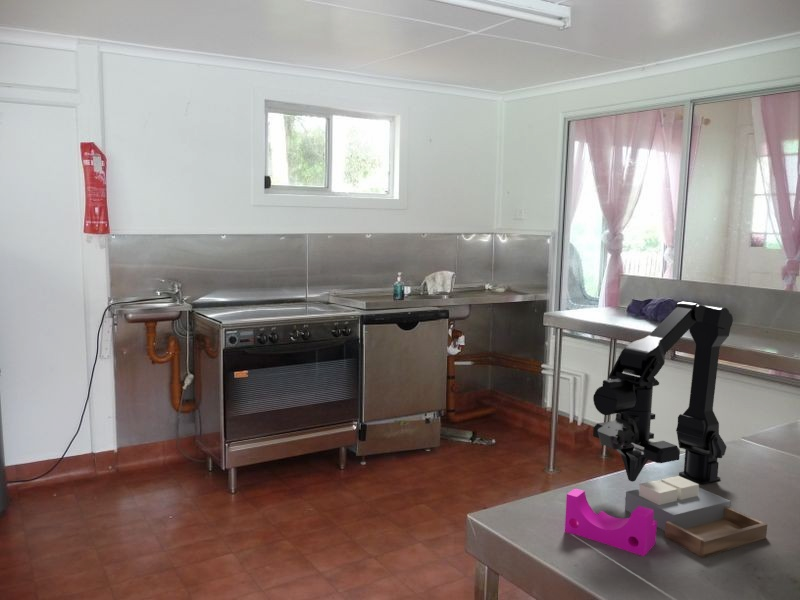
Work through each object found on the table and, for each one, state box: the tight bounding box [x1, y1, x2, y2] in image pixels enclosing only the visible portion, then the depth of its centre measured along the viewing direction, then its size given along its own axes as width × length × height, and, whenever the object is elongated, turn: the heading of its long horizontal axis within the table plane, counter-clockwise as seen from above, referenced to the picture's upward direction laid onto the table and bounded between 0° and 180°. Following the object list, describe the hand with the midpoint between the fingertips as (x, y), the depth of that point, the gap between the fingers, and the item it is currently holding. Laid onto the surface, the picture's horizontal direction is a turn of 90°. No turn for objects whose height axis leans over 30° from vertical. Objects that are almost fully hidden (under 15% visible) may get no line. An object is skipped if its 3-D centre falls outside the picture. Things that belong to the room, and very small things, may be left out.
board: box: [624, 486, 732, 532], centre depth 137 cm, size 12×16×4 cm
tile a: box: [638, 479, 678, 505], centre depth 135 cm, size 5×5×2 cm
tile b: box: [660, 475, 700, 500], centre depth 138 cm, size 5×5×2 cm
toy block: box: [564, 488, 658, 557], centre depth 127 cm, size 15×6×8 cm, turn 52°
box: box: [664, 507, 768, 559], centre depth 127 cm, size 9×17×3 cm, turn 117°
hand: (631, 480), depth 142 cm, fingers closed
